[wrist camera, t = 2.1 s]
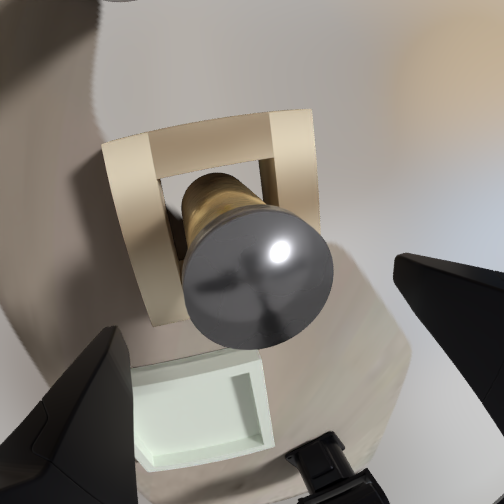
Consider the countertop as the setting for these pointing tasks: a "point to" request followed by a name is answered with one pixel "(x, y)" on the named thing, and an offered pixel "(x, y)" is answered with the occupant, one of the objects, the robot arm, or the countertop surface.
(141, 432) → the tray
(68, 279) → the countertop surface
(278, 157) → the wooden square frame
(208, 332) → the spice jar
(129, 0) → the supplement bottle
